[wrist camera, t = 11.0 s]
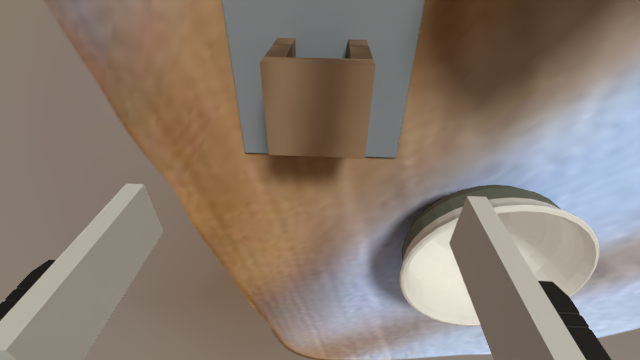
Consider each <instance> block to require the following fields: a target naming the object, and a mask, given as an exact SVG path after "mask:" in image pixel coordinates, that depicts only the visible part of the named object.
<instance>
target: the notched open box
mask: <svg viewBox="0 0 640 360" xmlns="http://www.w3.org/2000/svg"><path fill="white" fill-rule="evenodd" d="M260 71H261V81H262V91H263V101H264V111H265V121H266V131H267V141H268V151H269V155H284V156H314V157H344V158H365V154H366V145H367V136H368V127H369V118H370V109H371V101H372V92H373V83H374V74H375V63H374V60H373V57H372V54H371V51H370V48H369V45H368V43H367V40H351V39H349V42H348V58H347V59H341V58H298V57H296V45H295V38H277V39H276V41H275V42H274V44H273V45H272V46H271V48H270V49H269V51H268V52H267V53H266V55H265V56H264V57H263V59H262V60H261V62H260Z"/></svg>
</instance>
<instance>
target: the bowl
mask: <svg viewBox="0 0 640 360" xmlns="http://www.w3.org/2000/svg"><path fill="white" fill-rule="evenodd" d="M467 196H477V197H487V199H488V200H489V202H490V204H491V205H492V207H493V209H494V210H495V212H496V213H497V215H498V217H499V218H500V220H501V222H502V223H503V225H504V226H505V228H506V230H507V231H508V233H509V235H510V236H511V238H512V240H513V241H514V243H515V244H516V246H517V248H518V249H519V251H520V253H521V254H522V256H523V258H524V259H525V261H526V262H527V264H528V266H529V267H530V269H531V271H532V272H533V274H534V275H535V277H536V279H537V280H538V281H552V282H553V283H555V284H556V285H557V286H558V287H559V288H560V289H561V290H562V291H563V292H565V293H566V294H567V295H568V296H569V297H570V296H572V295H573V294H574V293H575V292H577V291H578V290H579V289H580V288H581V287H582V286H583V285H584V284H585V283H586V282H587V281H588V279H589V278H590V277H591V275H592V273H593V271H594V270H595V268H596V266H597V262H598V258H599V246H598V239H597V237H596V235H595V234H594V232H593V230H592V228H591V227H590V226H589V225H587V224H586V223H585V222H584V221H583V220H582V219H580V218H579V217H577V216H575V215H572V214H570V213H568V212H566V211H564V210H562V209H560V208H559V207H558V206H557V205H555V204H554V203H553V202H552V201H551V200H550V199H548V198H546V197H544V196H542V195H540V194H538V193H535V192H531V191H528V190H524V189H520V188H516V187H512V186H503V185H487V186H477V187H473V188H469V189H464V190H461V191H458V192H456V193H453V194H450V195H448V196H446V197H444V198H442V199H440V200H439V201H437V202H435V203H434V204H432V205H431V206H430V207H428V208H427V209H426V210H424V211H423V212H422V213H421V215H420V216H419V217H418V218H417V219H416V220H415V222H414V223H413V225H412V227H411V228H410V230H409V232H408V234H407V236H406V238H405V241H404V244H403V248H402V263H403V264H402V268H401V271H400V288H401V291H402V294H403V296H404V297H405V299H406V300H407V301H408V303H409V304H410V305H411V306H412V307H413V308H415V309H416V310H417V311H418V312H420V313H422V314H424V315H425V316H427V317H429V318H432V319H435V320H438V321H441V322H444V323H450V324H455V325H466V326H481V325H480V322H479V319H478V317H477V314H476V312H475V309H474V307H473V304H472V301H471V299H470V296H469V294H468V291H467V288H466V286H465V283H464V281H463V278H462V275H461V273H460V270H459V268H458V265H457V262H456V260H455V257H454V255H453V252H452V249H451V247H450V244H449V243H450V240H451V237H452V235H453V232H454V229H455V227H456V224H457V221H458V219H459V216H460V213H461V211H462V208H463V205H464V203H465V200H466V197H467Z"/></svg>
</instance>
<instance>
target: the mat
mask: <svg viewBox="0 0 640 360" xmlns="http://www.w3.org/2000/svg"><path fill="white" fill-rule="evenodd" d="M424 2H425V0H222V3H223V9H224V16H225V23H226V29H227V36H228V42H229V49H230V56H231V62H232V69H233V75H234V82H235V88H236V95H237V102H238V108H239V115H240V121H241V128H242V135H243V141H244V148H245V153H269V151H268V141H267V131H266V121H265V111H264V101H263V91H262V81H261V71H260V62H261V60H262V59H263V57H264V56H265V55H266V53H267V52H268V51H269V49H270V48H271V46H272V45H273V44H274V42H275V41H276V39H277V38H295V45H296V57H298V58H341V59H347V58H348V42H349V39H351V40H367V43H368V45H369V48H370V51H371V54H372V57H373V60H374V63H375V74H374V83H373V92H372V101H371V109H370V118H369V127H368V136H367V145H366V154H365V157H392V158H396V156H397V151H398V145H399V140H400V134H401V129H402V123H403V118H404V112H405V107H406V101H407V96H408V90H409V85H410V79H411V74H412V68H413V63H414V57H415V52H416V46H417V41H418V35H419V30H420V24H421V19H422V13H423V8H424Z"/></svg>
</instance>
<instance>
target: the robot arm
mask: <svg viewBox="0 0 640 360" xmlns="http://www.w3.org/2000/svg"><path fill="white" fill-rule="evenodd" d="M162 233H163V229H162V227H161V224H160V222H159V219H158V217H157V215H156V212H155V209H154V207H153V205H152V202H151V200H150V197H149V195H148V192H147V190H146V187H145V185H144V184H125V185H124V186H123V188H122V189H121V190H120V191H119V192H118V193H117V194H116V195H115V196H114V197H113V199H112V200H111V201H110V202H109V203H108V204H107V205H106V206H105V207H104V208H103V209H102V210H101V212H100V213H99V214H98V215H97V216H96V217H95V218H94V219H93V220H92V221H91V223H90V224H89V225H88V226H87V227H86V228H85V229H84V230H83V231H82V232H81V233H80V234H79V236H78V237H77V238H76V239H75V240H74V241H73V242H72V243H71V244H70V246H69V247H68V248H67V249H66V250H65V251H64V252H63V253H62V254H61V255H60V256H59V257H58V259H57V260H48V261H47V262H45V263H44V264H42V265H41V266H39V267H38V268H37V269H35V270H33V271H32V272H31V273H30V274H29V275H28V276H27V277H26V278H25V279H24V280H23V281H22V282H21V283H20V284H19V285H18V286H17V289H16V290H13V292H12V293H11V294H10V295H9V296H8V297H7V298H6V301H5V302H2V303H1V304H0V360H84V358H85V357H86V355H87V354H88V352H89V350H90V349H91V347H92V345H93V344H94V342H95V341H96V339H97V337H98V336H99V334H100V333H101V331H102V329H103V328H104V326H105V325H106V323H107V321H108V320H109V318H110V317H111V315H112V313H113V312H114V310H115V308H116V307H117V305H118V304H119V302H120V301H121V299H122V297H123V296H124V294H125V293H126V291H127V289H128V288H129V286H130V285H131V283H132V281H133V280H134V278H135V277H136V275H137V273H138V272H139V270H140V269H141V267H142V265H143V264H144V262H145V260H146V259H147V257H148V256H149V254H150V252H151V251H152V249H153V248H154V246H155V244H156V243H157V241H158V240H159V238H160V236H161V235H162ZM449 244H450V247H451V249H452V252H453V255H454V257H455V260H456V262H457V265H458V268H459V270H460V273H461V275H462V278H463V281H464V283H465V286H466V288H467V291H468V294H469V296H470V299H471V301H472V304H473V307H474V309H475V312H476V314H477V317H478V319H479V322H480V325H481V327H482V330H483V332H484V335H485V338H486V340H487V343H488V345H489V348H490V351H491V353H492V356H493V358H494V360H611V359H610V357H609V356H608V354H607V353H606V351H605V350H604V348H603V347H602V345H601V344H600V342H599V341H598V339H597V338H596V336H595V335H594V333H593V332H592V330H590V329H589V328H588V324H587V323H586V321H585V320H584V318H583V317H582V316H580V315H579V311H578V310H577V308H576V307H575V305H574V304H573V302H572V301H571V299H570V298H569V296H568V295H567V294H566V293H565V292H563V291H562V290H561V289H560V288H559V287H558V286H557V285H556V284H555V283H553V282H552V281H538V280H537V279H536V277H535V275H534V274H533V272H532V271H531V269H530V267H529V266H528V264H527V262H526V261H525V259H524V258H523V256H522V254H521V253H520V251H519V249H518V248H517V246H516V244H515V243H514V241H513V240H512V238H511V236H510V235H509V233H508V231H507V230H506V228H505V226H504V225H503V223H502V222H501V220H500V218H499V217H498V215H497V213H496V212H495V210H494V209H493V207H492V205H491V204H490V202H489V200H488V199H487V197H477V196H467V197H466V200H465V203H464V205H463V208H462V211H461V213H460V216H459V219H458V221H457V224H456V227H455V229H454V232H453V235H452V237H451V240H450V243H449Z"/></svg>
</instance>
